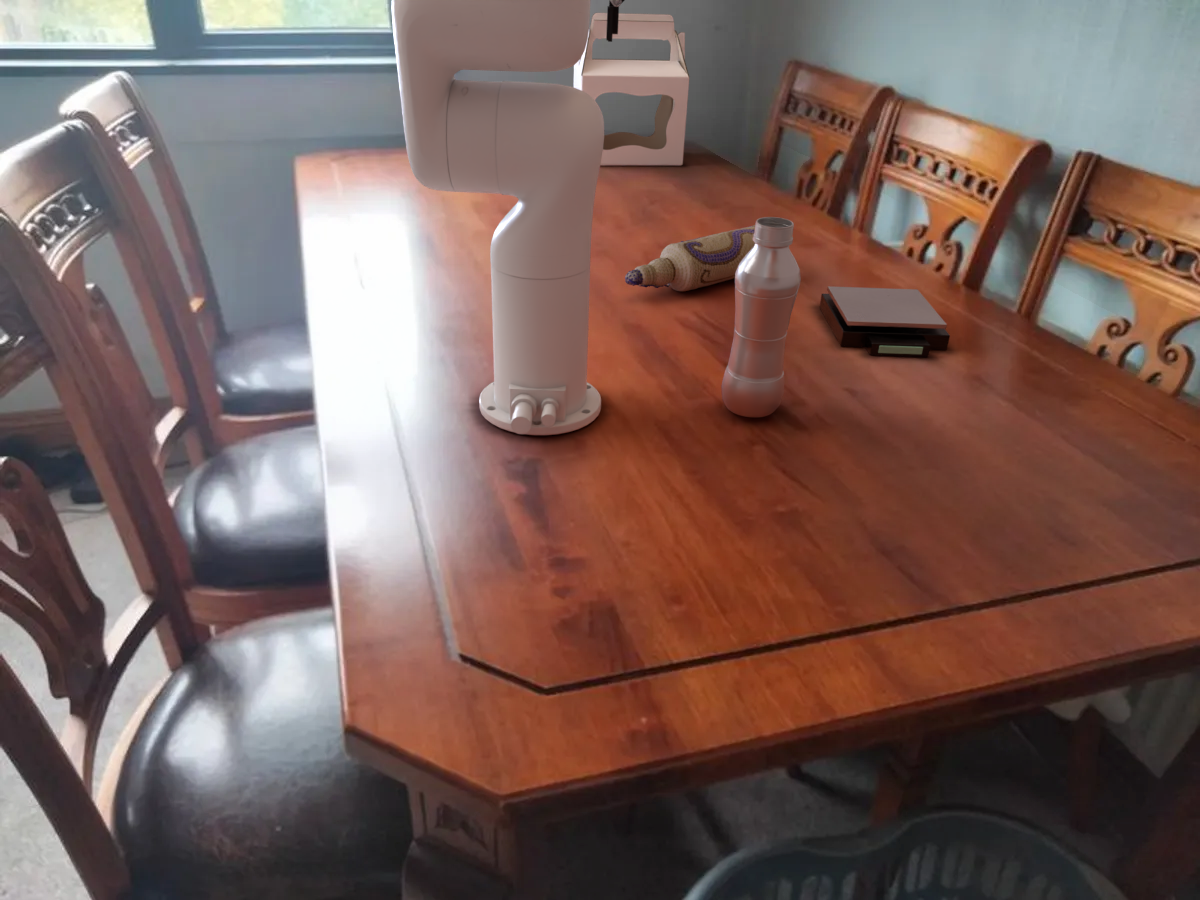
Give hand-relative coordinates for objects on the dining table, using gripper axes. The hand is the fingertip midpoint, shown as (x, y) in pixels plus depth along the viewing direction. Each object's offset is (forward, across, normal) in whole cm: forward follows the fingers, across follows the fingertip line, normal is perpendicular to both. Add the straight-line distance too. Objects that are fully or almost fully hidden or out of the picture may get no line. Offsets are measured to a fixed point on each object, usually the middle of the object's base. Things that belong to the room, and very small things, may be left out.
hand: (571, 39), depth 116 cm
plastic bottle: (+31, +20, -41) cm, 56 cm away
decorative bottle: (+31, +19, -2) cm, 36 cm away
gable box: (+30, +10, +73) cm, 79 cm away
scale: (+31, +41, -19) cm, 54 cm away
